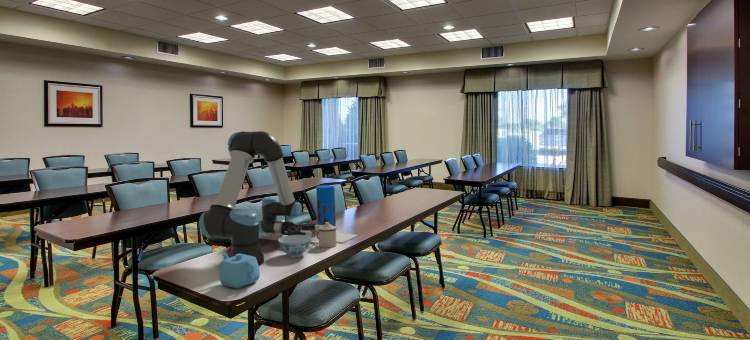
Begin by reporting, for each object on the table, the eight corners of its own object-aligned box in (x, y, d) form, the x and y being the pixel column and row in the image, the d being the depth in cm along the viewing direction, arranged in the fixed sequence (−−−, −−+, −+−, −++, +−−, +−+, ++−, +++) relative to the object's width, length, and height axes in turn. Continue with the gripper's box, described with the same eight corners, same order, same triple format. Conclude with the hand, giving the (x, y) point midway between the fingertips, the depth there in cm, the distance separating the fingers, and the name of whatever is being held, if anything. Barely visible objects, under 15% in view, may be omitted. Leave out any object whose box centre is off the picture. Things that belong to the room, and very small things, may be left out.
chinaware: (309, 259, 184) (308, 242, 184) (275, 260, 184) (274, 243, 184) (313, 250, 199) (313, 234, 199) (282, 250, 199) (282, 235, 199)
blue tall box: (329, 225, 253) (328, 184, 250) (339, 228, 244) (338, 186, 242) (314, 228, 246) (312, 186, 243) (323, 231, 237) (322, 188, 235)
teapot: (236, 274, 167) (235, 246, 166) (266, 282, 157) (265, 253, 156) (209, 283, 157) (207, 254, 156) (239, 293, 147) (238, 262, 146)
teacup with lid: (340, 244, 209) (339, 221, 208) (329, 248, 201) (328, 225, 200) (321, 241, 215) (320, 219, 214) (310, 245, 207) (309, 223, 206)
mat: (343, 243, 211) (343, 242, 211) (320, 240, 217) (320, 239, 216) (357, 236, 225) (357, 234, 225) (335, 233, 231) (335, 232, 231)
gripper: (298, 229, 230) (331, 232, 222) (269, 240, 208) (305, 244, 199) (298, 216, 230) (331, 219, 221) (269, 226, 207) (304, 229, 198)
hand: (318, 231), depth 210 cm, fingers open, 13 cm apart
